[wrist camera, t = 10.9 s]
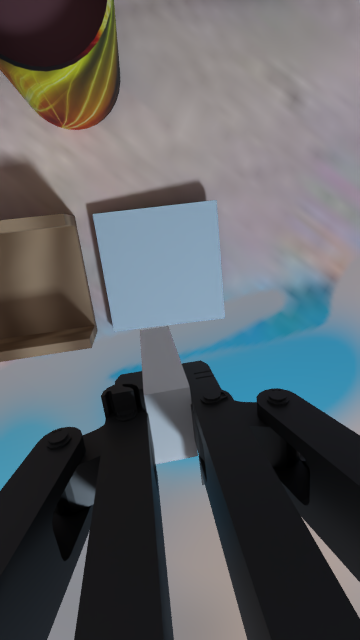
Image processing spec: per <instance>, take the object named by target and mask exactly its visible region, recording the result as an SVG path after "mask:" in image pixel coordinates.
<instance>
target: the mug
mask: <svg viewBox="0 0 360 640" xmlns="http://www.w3.org/2000/svg"><path fill="white" fill-rule="evenodd" d="M0 70H1V71H2V72H3V73H4V75H5V76H6V77H7V78H8V79H9V81H10V82H11V83H12V84H13V85H14V87H15V88H16V89H17V90H18V91H19V93H20V94H21V95H22V96H23V98H24V99H25V100H26V101H27V102H28V104H29V105H30V106H31V107H32V108H33V109H34V110H35V111H36V112H37V113H38V114H39V115H40V116H41V117H42V118H44V119H45V120H47V121H48V122H50V123H52V124H54V125H56V126H58V127H61V128H65V129H72V130H80V129H86V128H89V127H92V126H94V125H96V124H98V123H99V122H101V121H102V120H103V119H105V117H106V116H107V115H108V114H109V113H110V112H111V110H112V108H113V106H114V105H115V103H116V100H117V97H118V94H119V88H120V67H119V56H118V44H117V32H116V20H115V8H114V0H0Z"/></svg>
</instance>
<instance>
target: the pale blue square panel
mask: <svg viewBox="0 0 360 640" xmlns="http://www.w3.org/2000/svg"><path fill="white" fill-rule="evenodd" d="M93 219H94V225H95V230H96V235H97V241H98V246H99V252H100V257H101V263H102V268H103V274H104V279H105V285H106V290H107V296H108V301H109V307H110V312H111V317H112V323H113V328H114V332H115V331H124V330H132V329H140V328H148V327H155V326H164V325H172V324H181V323H188V322H197V321H205V320H213V319H221V318H225V314H224V299H223V284H222V270H221V256H220V242H219V227H218V213H217V200H212V201H203V202H194V203H186V204H177V205H168V206H159V207H150V208H142V209H133V210H124V211H115V212H106V213H98V214H93Z"/></svg>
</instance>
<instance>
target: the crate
mask: <svg viewBox="0 0 360 640" xmlns="http://www.w3.org/2000/svg"><path fill="white" fill-rule="evenodd" d="M96 334H97V326H96V321H95V316H94V311H93V306H92V301H91V296H90V291H89V286H88V281H87V276H86V271H85V266H84V261H83V256H82V251H81V246H80V241H79V236H78V231H77V226H76V221H75V216H72V215H68V214H54V215H45V216H36V217H26V218H17V219H8V220H0V362H2V361H9V360H15V359H22V358H28V357H35V356H41V355H48V354H54V353H61V352H67V351H74V350H80V349H87V348H92V345H93V342H94V339H95V337H96Z"/></svg>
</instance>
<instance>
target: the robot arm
mask: <svg viewBox="0 0 360 640" xmlns="http://www.w3.org/2000/svg"><path fill="white" fill-rule="evenodd" d="M140 341H141V358H142V371H140V372H134V373H128V374H122V375H120V376H119V377H118V379H117V380H116V381H115V385H113V386H111V387H109V388H107V389H106V390H105V391H104V392H103V393H102V395H101V398H102V403H103V408H104V412H105V417H106V421H105V424H104V425H103V426H102V427H100V428H99V429H97V430H95V431H92V432H90V433H88V434H85V435H82V433H81V431H80V430H79V429H77V428H75V427H65V428H59V429H57V430H54V431H52V432H50V433H49V434H47V435H45V436H44V437H43V438H42V439H41V440H40V441H39V442H38V443H37V444H36V445H35V447H34V448H33V449H32V451H31V452H30V453H29V455H28V456H27V457H26V458H25V460H24V461H23V462H22V464H21V465H20V466H19V468H18V469H17V470H16V471H15V473H14V474H13V475H12V477H11V478H10V479H9V480H8V482H7V483H6V484H5V486H4V487H3V488H2V490H1V491H0V640H47V638H48V636H49V633H50V631H51V628H52V625H53V623H54V620H55V618H56V615H57V612H58V610H59V607H60V605H61V602H62V600H63V597H64V595H65V592H66V590H67V587H68V584H69V582H70V579H71V576H72V574H73V571H74V569H75V566H76V564H77V561H78V558H79V556H80V554H81V551H82V548H83V546H84V543H85V541H86V538H87V536H88V533H89V530H90V533H89V540H88V547H87V554H86V562H85V568H84V575H83V582H82V589H81V596H80V603H79V610H78V617H77V624H76V631H75V638H74V640H174V637H173V627H172V617H171V607H170V597H169V587H168V577H167V567H166V557H165V547H164V536H163V527H162V516H161V506H160V496H159V486H158V477H157V471H156V464H160V463H165V462H170V461H175V460H180V459H185V458H190V457H195V456H198V453H199V461H200V470H201V479H202V485H204V484H205V486H206V490H207V493H208V497H209V501H210V505H211V508H212V512H213V515H214V519H215V523H216V526H217V530H218V534H219V537H220V541H221V545H222V548H223V552H224V555H225V559H226V563H227V567H228V570H229V573H230V578H231V581H232V585H233V588H234V592H235V596H236V600H237V603H238V607H239V610H240V614H241V617H242V621H243V625H244V629H245V632H246V636H247V640H360V618H359V617H358V615H357V613H356V611H355V610H354V608H353V606H352V604H351V603H350V601H349V599H348V598H347V596H346V594H345V592H344V591H343V589H342V587H341V585H340V584H339V582H338V580H337V578H336V577H335V575H334V573H333V572H332V570H331V568H330V566H329V565H328V563H327V561H326V559H325V558H324V556H323V554H322V552H321V551H320V549H319V547H318V545H317V544H316V542H315V540H314V539H313V537H312V535H311V533H310V531H309V530H308V528H307V526H306V525H305V523H304V521H303V519H304V520H305V521H306V522H307V523H308V524H309V526H310V527H311V528H312V529H313V530H314V531H315V532H316V534H317V535H318V536H319V537H320V538H321V539H322V540H323V541H324V542H325V544H326V545H327V546H328V547H329V548H330V549H331V550H332V551H333V553H335V555H336V556H337V557H338V558H339V559H340V560H341V561H342V563H343V564H344V565H345V566H346V567H347V568H348V569H349V571H350V572H351V573H352V574H353V575H354V576H355V577H356V578H357V580H358V581H360V435H358V434H356V433H355V432H353V431H352V430H350V429H349V428H347V427H346V426H344V425H343V424H341V423H339V422H338V421H336V420H335V419H333V418H332V417H330V416H329V415H327V414H326V413H324V412H322V411H321V410H319V409H318V408H316V407H315V406H313V405H311V404H310V403H308V402H307V401H305V400H304V399H302V398H301V397H299V396H297V395H296V394H294V393H292V392H290V391H287V390H283V389H269V390H265V391H263V392H261V393H259V395H258V396H257V402H239V401H234V400H233V398H232V396H231V395H230V394H229V393H228V392H226V391H224V390H221V388H220V386H219V384H218V382H217V380H216V379H215V377H214V375H213V373H212V371H211V369H210V367H209V366H208V364H206V363H204V362H202V361H195V362H189V363H183V364H181V361H180V358H179V355H178V352H177V349H176V347H175V344H174V341H173V338H172V335H171V332H170V330H169V327H168V326H166V327H160V328H154V329H147V330H140ZM197 450H198V453H197ZM301 517H302V518H303V519H302V518H301Z"/></svg>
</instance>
